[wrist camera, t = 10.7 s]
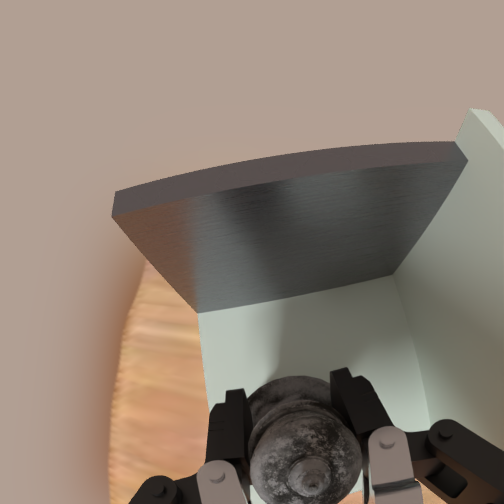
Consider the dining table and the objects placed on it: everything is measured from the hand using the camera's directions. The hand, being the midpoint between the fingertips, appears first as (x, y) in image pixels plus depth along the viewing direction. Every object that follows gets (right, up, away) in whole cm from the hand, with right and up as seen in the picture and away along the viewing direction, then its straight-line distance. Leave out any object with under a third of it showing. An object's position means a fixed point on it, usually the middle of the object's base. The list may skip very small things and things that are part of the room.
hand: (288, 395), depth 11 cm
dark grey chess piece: (+1, -4, +4) cm, 6 cm away
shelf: (+4, -4, +8) cm, 9 cm away
